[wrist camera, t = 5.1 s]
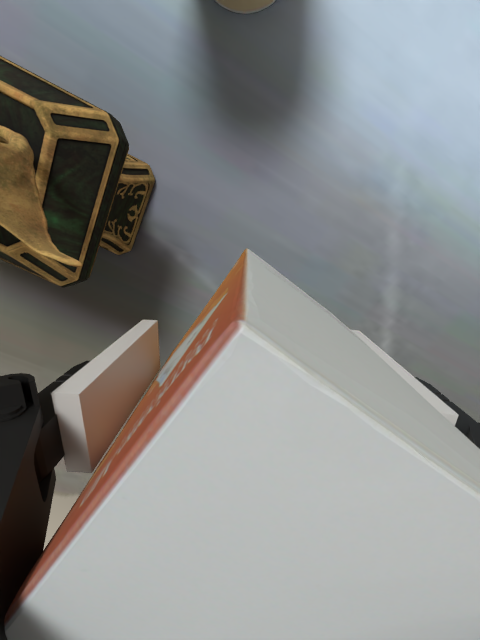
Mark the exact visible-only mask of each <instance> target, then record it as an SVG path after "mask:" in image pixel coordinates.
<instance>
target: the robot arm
mask: <svg viewBox="0 0 480 640" xmlns="http://www.w3.org/2000/svg"><path fill="white" fill-rule="evenodd" d="M351 331H352V332H353V333H354V334H356V335H357V336H358V337H359V338H360V339H361V340H362V341H364V342H365V343H366V344H367V345H368V346H369V347H370V348H371V349H372V350H373V351H374V352H375V353H376V354H377V355H378V356H379V357H381V358H382V359H383V360H384V361H385V362H386V363H387V364H388V365H389V366H390V367H391V368H392V369H393V370H394V371H396V372H397V373H398V374H399V375H400V376H401V377H402V378H403V379H404V380H405V381H406V382H407V383H408V384H409V385H411V386H412V387H413V388H414V389H415V390H416V391H417V392H418V393H419V394H420V395H421V396H422V397H423V398H424V399H426V400H427V401H428V402H429V403H430V404H431V405H432V406H433V407H434V408H435V409H436V410H437V411H439V412H440V413H441V414H442V415H443V416H444V417H445V418H446V419H447V420H448V421H449V422H451V423H452V424H453V425H454V426H455V427H456V428H457V429H458V430H459V431H460V432H461V433H463V434H464V435H465V436H466V437H467V438H468V439H469V440H470V441H471V442H472V443H473V444H475V445H476V446H477V447H478V448H479V449H480V423H477V422H476V421H475V420H474V419H472V418H471V417H470V416H469V415H467V414H466V413H465V412H464V411H462V410H461V409H460V408H459V407H458V406H456V405H455V404H454V403H453V402H450V401H449V399H448V398H446V397H445V396H444V395H441V393H440V392H439V391H438V390H437V389H435V388H434V387H433V386H432V385H430V384H428V383H426V382H425V381H423V380H421V379H419V378H417V377H413V376H412V375H411V374H410V373H409V372H407V371H406V370H405V369H404V368H403V367H402V366H400V365H399V364H398V363H397V362H396V361H394V360H393V359H392V358H391V357H390V356H388V355H387V354H386V353H385V352H384V351H383V350H381V349H380V348H379V347H378V346H377V345H375V344H374V343H373V342H372V341H371V340H370V339H368V338H367V337H366V336H365V335H364V334H362V333H361V332H360V331H359V330H351ZM159 370H160V356H159V337H158V320H142V321H140V322H139V323H138V324H137V325H135V326H134V327H133V328H132V329H130V330H129V331H128V332H127V333H125V334H124V335H123V336H122V337H120V338H119V339H118V340H117V341H115V342H114V343H113V344H112V345H110V346H109V347H108V348H107V349H105V350H104V351H103V352H102V353H100V354H99V355H98V356H97V357H95V358H94V359H93V360H92V361H85V362H83V363H81V364H79V365H76V366H74V367H73V368H71V369H70V370H69V371H67V372H66V373H65V374H64V375H62V376H61V377H59V378H58V379H57V380H56V382H53V383H51V384H50V385H49V386H47V387H46V388H45V389H43V390H42V391H41V392H39V393H38V392H37V388H36V383H35V378H34V377H33V376H32V375H30V374H23V373H20V374H9V375H4V376H0V640H7V637H6V634H5V625H4V620H5V615H6V613H7V611H8V609H9V607H10V605H11V603H12V601H13V600H14V598H15V596H16V594H17V593H18V591H19V589H20V587H21V586H22V584H23V582H24V580H25V579H26V577H27V575H28V574H29V572H30V571H31V569H32V568H33V566H34V565H35V563H36V562H37V560H38V559H39V557H40V556H41V554H42V553H43V548H44V542H45V537H46V531H47V526H48V520H49V515H50V509H51V504H52V498H53V493H54V487H55V481H56V476H55V470H54V467H55V466H56V465H57V464H58V462H59V461H60V460H61V459H62V458H63V456H64V460H65V465H66V471H67V472H84V473H92V472H93V470H94V469H95V467H96V466H97V464H98V463H99V461H100V459H101V458H102V456H103V455H104V453H105V452H106V450H107V449H108V447H109V446H110V444H111V443H112V441H113V440H114V438H115V437H116V435H117V434H118V432H119V431H120V429H121V427H122V426H123V424H124V423H125V421H126V420H127V418H128V417H129V415H130V414H131V412H132V411H133V409H134V408H135V406H136V405H137V403H138V402H139V400H140V399H141V397H142V395H143V394H144V392H145V391H146V389H147V388H148V386H149V385H150V383H151V382H152V380H153V379H154V377H155V376H156V374H157V373H158V371H159Z"/></svg>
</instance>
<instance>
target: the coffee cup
mask: <svg viewBox="0 0 480 640" xmlns="http://www.w3.org/2000/svg"><path fill="white" fill-rule="evenodd" d="M215 1H216V2H217V3H218V4H219V5H220V6H222V7H224V8H225V9H227V10H229V11H232V12H235V13H241V14H250V13H254V12H259V11H261V10H263V9H265V8H267V7H269V6H270V5H272V4H273V3H274V2H275V1H276V0H215Z"/></svg>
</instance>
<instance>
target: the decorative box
mask: <svg viewBox="0 0 480 640" xmlns="http://www.w3.org/2000/svg"><path fill="white" fill-rule="evenodd" d="M128 150H129V144H128V141H127V139H126V136H125V134H124V131H123V129H122V126H121V124H120V122H119V121H118V120H116V119H115V118H114V117H113V116H112V115H111V114H109V113H108V112H106V111H104V110H102V109H100V108H98V107H96V106H94V105H92V104H91V103H89V102H87V101H85V100H83V99H81V98H79V97H77V96H75V95H74V94H72V93H70V92H68V91H66V90H64V89H62V88H60V87H58V86H57V85H55V84H53V83H51V82H49V81H47V80H45V79H43V78H41V77H40V76H38V75H36V74H34V73H32V72H30V71H28V70H26V69H24V68H22V67H21V66H19V65H17V64H15V63H13V62H11V61H9V60H7V59H5V58H4V57H2V56H0V259H2V260H4V261H6V262H8V263H10V264H13V265H15V266H17V267H19V268H21V269H24V270H26V271H28V272H30V273H32V274H34V275H37V276H39V277H41V278H43V279H45V280H48V281H50V282H52V283H54V284H56V285H59V286H61V287H67V286H71V285H75V284H77V283H80V282H83V281H85V280H88V278H89V277H90V275H91V271H92V268H93V265H94V262H95V258H96V255H97V252H98V248H99V246H101V247H103V248H105V249H107V250H109V251H111V252H113V253H115V254H117V255H121V254H123V253H126V252H129V251H131V249H132V247H133V244H134V241H135V238H136V235H137V232H138V229H139V226H140V223H141V220H142V217H143V214H144V212H145V209H146V206H147V203H148V200H149V197H150V194H151V191H152V188H153V185H154V182H155V178H154V175H153V173H152V170H151V168H150V166H149V165H148V164H147V163H145V162H143V161H141V160H139V159H137V158H135V157H133V156H131V155H129V154H128Z"/></svg>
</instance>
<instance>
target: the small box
mask: <svg viewBox="0 0 480 640" xmlns="http://www.w3.org/2000/svg"><path fill="white" fill-rule="evenodd" d="M4 625H5V634H6V637H7V640H480V449H479V448H478V447H477V446H476V445H475V444H473V443H472V442H471V441H470V440H469V439H468V438H467V437H466V436H465V435H464V434H463V433H461V432H460V431H459V430H458V429H457V428H456V427H455V426H454V425H453V424H452V423H451V422H449V421H448V420H447V419H446V418H445V417H444V416H443V415H442V414H441V413H440V412H439V411H437V410H436V409H435V408H434V407H433V406H432V405H431V404H430V403H429V402H428V401H427V400H426V399H424V398H423V397H422V396H421V395H420V394H419V393H418V392H417V391H416V390H415V389H414V388H413V387H412V386H411V385H409V384H408V383H407V382H406V381H405V380H404V379H403V378H402V377H401V376H400V375H399V374H398V373H397V372H396V371H394V370H393V369H392V368H391V367H390V366H389V365H388V364H387V363H386V362H385V361H384V360H383V359H382V358H381V357H379V356H378V355H377V354H376V353H375V352H374V351H373V350H372V349H371V348H370V347H369V346H368V345H367V344H366V343H365V342H364V341H362V340H361V339H360V338H359V337H358V336H357V335H356V334H354V333H353V332H352V331H351V330H350V329H349V328H348V327H347V326H345V325H344V324H343V323H342V322H341V321H340V320H338V319H337V318H336V317H335V316H334V315H333V314H332V313H331V312H329V311H328V310H327V309H325V308H324V307H323V306H322V305H320V304H319V303H318V302H316V301H315V300H314V299H313V298H311V297H310V296H309V295H307V294H306V293H305V292H304V291H302V290H301V289H300V288H298V287H297V286H296V285H295V284H293V283H292V282H291V281H289V280H288V279H287V278H285V277H284V276H283V275H282V274H280V273H279V272H278V271H276V270H275V269H274V268H273V267H271V266H270V265H269V264H267V263H266V262H265V261H264V260H262V259H261V258H260V257H258V256H257V255H256V254H254V253H253V252H252V251H250V250H249V249H245V250H244V252H243V253H242V255H241V256H240V258H239V259H238V261H237V262H236V264H235V265H234V267H233V268H232V269H231V271H230V272H229V274H228V275H227V277H226V278H225V280H224V281H223V282H222V284H221V285H220V287H219V288H218V289H217V291H216V292H215V294H214V295H213V297H212V298H211V299H210V301H209V302H208V304H207V305H206V306H205V308H204V309H203V311H202V312H201V313H200V315H199V316H198V318H197V319H196V320H195V322H194V323H193V324H192V326H191V327H190V329H189V330H188V331H187V333H186V334H185V336H184V337H183V338H182V340H181V341H180V343H179V344H178V345H177V347H176V348H175V349H174V350H173V352H172V353H171V355H170V356H169V358H168V360H167V361H166V363H165V364H164V366H163V367H162V369H161V370H160V372H159V374H158V375H157V377H156V378H155V380H154V381H153V383H152V385H151V386H150V388H149V390H148V391H147V393H146V394H145V396H144V398H143V399H142V400H141V402H140V403H139V405H138V406H137V408H136V409H135V411H134V412H133V414H132V415H131V417H130V419H129V420H128V422H127V423H126V425H125V426H124V428H123V430H122V431H121V433H120V434H119V436H118V437H117V439H116V440H115V442H114V443H113V445H112V446H111V448H110V449H109V451H108V452H107V454H106V455H105V457H104V458H103V460H102V461H101V463H100V464H99V466H98V468H97V469H96V471H95V472H94V474H93V476H92V477H91V479H90V480H89V482H88V483H87V485H86V487H85V488H84V490H83V491H82V493H81V494H80V496H79V497H78V499H77V501H76V502H75V504H74V505H73V507H72V508H71V510H70V512H69V513H68V515H67V516H66V518H65V519H64V521H63V522H62V524H61V525H60V527H59V528H58V530H57V531H56V533H55V534H54V536H53V537H52V539H51V540H50V542H49V543H48V545H47V546H46V548H45V549H44V551H43V553H42V554H41V556H40V557H39V559H38V560H37V562H36V563H35V565H34V566H33V568H32V569H31V571H30V572H29V574H28V575H27V577H26V579H25V580H24V582H23V584H22V586H21V587H20V589H19V591H18V593H17V594H16V596H15V598H14V600H13V601H12V603H11V605H10V607H9V609H8V611H7V613H6V615H5V620H4Z"/></svg>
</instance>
